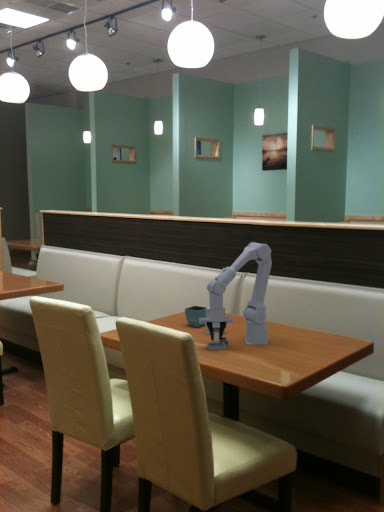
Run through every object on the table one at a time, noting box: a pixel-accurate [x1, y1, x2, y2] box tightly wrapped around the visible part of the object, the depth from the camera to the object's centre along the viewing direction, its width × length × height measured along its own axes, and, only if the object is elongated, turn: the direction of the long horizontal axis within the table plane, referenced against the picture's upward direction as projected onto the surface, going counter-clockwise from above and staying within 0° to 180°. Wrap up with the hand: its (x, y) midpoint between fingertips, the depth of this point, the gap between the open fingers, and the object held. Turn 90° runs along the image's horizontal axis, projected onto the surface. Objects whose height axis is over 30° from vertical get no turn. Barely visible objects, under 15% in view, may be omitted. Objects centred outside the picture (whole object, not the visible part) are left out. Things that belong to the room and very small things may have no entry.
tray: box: [206, 342, 227, 351], centre depth 227 cm, size 7×7×2 cm
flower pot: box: [184, 305, 208, 328], centre depth 264 cm, size 9×9×9 cm
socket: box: [220, 336, 229, 346], centre depth 234 cm, size 6×6×2 cm
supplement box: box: [205, 305, 226, 335], centre depth 250 cm, size 7×7×13 cm
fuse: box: [212, 327, 220, 345], centre depth 226 cm, size 3×3×7 cm
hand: (216, 339), depth 227 cm, fingers closed on fuse, 3 cm apart
